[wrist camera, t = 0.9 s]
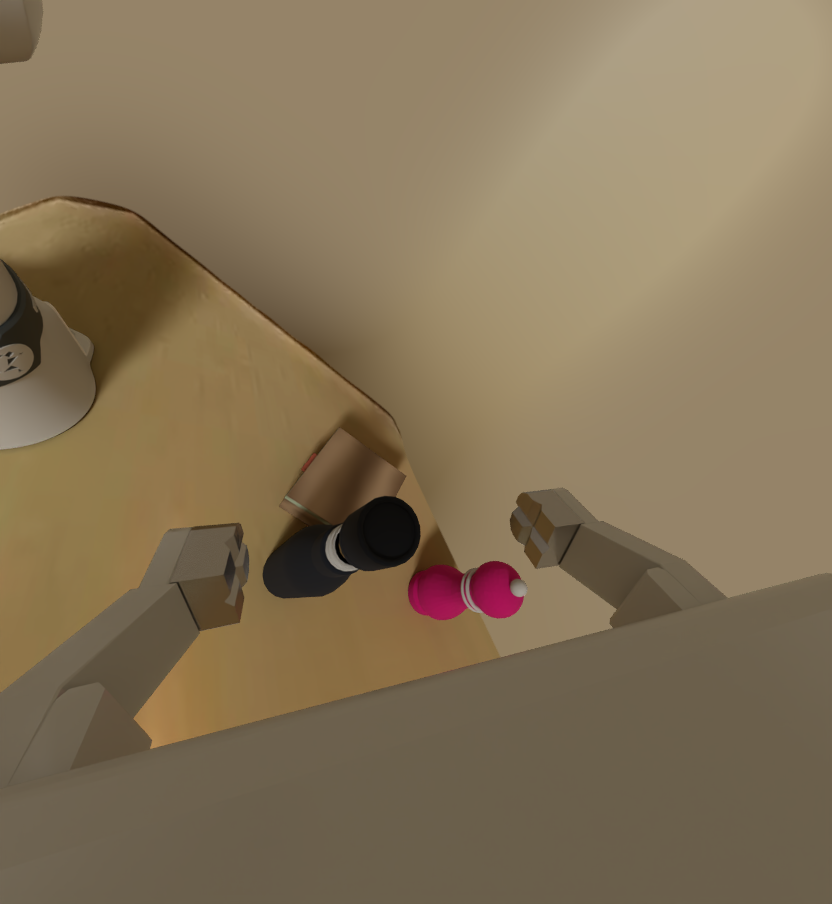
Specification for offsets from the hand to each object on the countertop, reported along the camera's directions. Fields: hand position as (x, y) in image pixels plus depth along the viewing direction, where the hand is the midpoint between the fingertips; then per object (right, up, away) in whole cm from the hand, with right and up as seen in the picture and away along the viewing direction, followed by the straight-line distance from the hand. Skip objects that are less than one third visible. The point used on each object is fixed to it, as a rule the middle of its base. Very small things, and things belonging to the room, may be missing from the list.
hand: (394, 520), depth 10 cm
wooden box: (-11, -4, +39) cm, 41 cm away
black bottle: (-16, -13, +32) cm, 38 cm away
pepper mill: (+2, -19, +40) cm, 45 cm away
